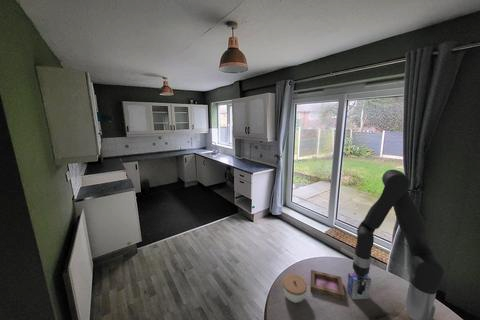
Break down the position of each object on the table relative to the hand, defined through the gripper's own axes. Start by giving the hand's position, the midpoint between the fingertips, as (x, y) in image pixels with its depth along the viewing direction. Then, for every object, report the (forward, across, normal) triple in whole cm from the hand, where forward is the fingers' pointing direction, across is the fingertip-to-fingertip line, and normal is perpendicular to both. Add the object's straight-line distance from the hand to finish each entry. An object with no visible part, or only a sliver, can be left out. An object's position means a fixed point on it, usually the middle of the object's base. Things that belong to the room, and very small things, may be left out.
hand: (358, 288), depth 105 cm
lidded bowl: (+5, -13, +33) cm, 36 cm away
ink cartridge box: (+5, 0, 0) cm, 5 cm away
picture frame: (+4, 0, +16) cm, 17 cm away
